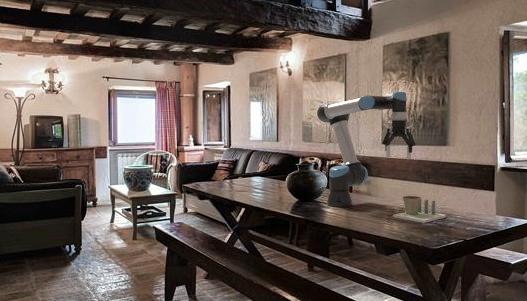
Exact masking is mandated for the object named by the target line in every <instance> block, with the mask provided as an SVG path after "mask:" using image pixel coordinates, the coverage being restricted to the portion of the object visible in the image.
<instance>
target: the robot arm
mask: <svg viewBox="0 0 527 301" xmlns="http://www.w3.org/2000/svg"><path fill="white" fill-rule="evenodd" d="M407 100H408V99H407V93H406V92H405V91H395V92H394V91H393V92H392V94H391V95H387V96H386V95H385V96H383V95H382V96H381V95H369V94H368V95H362V96H361V97H359V98H355V99H350V100H346V101H342V102H341V101H340V102H337V103H326V104H321V105H320V106H318V109H317V111H316V116H317V118H318V119H319V120H320V121H321V122H323V123H329V125H330V128H331V129H333V131H334V134H335V137H336V140H337V143H338V147H339V151H340V154H341V158H342V161H343V164H342V165H336V166H332V167H330V169H329V173H328V174H329V175H328V177H329V193H328V196H327V197H328V198H327V200H326V205H327V206H329V207H334V208H335V207H337V208H342V207H343V208H346V207H351V206H353V200H352V198H351V193H350V187H353V186H361V185H364V184H365V183H366V182H367V180H368V176H369V174H368V173H369V172H368V169H367V168H366V167H365V166H363V165H362V162H361V161H360V160H358V158H357V155H356V151H355V147H354V144H353V141H352V138H351V134H350V131H349V128H348V124H349V119H350V114H354V113H358V112H365V111H369V110H379V111H380V110H381V111H382V110H383V111H384V110H391V119H392V120H391V127H392V128H386V129H387V130H386V134H385V136H384V138H383V140H382V143H381V144H382V145H384V148H385V149H384V150H385V156H386V158H391V145H390V144H391V143H392V142H393V140H394V139H395V138H396V137H399V138H402V139H403V140H404V142H405V144H406V145H407V147H406V159H407V160H410V159H412V153H413V147H415V146H416V144H417V143H416V141H415V139H414V137H413V134H412V129H411V128H406V127H407V120H406V119H407Z"/></svg>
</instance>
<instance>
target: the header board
mask: <svg viewBox="0 0 527 301" xmlns="http://www.w3.org/2000/svg"><path fill="white" fill-rule="evenodd" d="M446 217H447V215H446V214H442V213H437V212H436V200H431V211H430V212H429V199H424V211H423V210H422V198H421V199H420V203H419V210H418V214H416V215H410V214H406V212H405V211H404V212H399V213H396V214H392V218H394V219H395V218H396V219H401V220H406V221H412V222H418V223H423V224H425V223H429V222H433V221H437V220H441V219H444V218H445V219H446Z"/></svg>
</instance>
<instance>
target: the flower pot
mask: <svg viewBox="0 0 527 301" xmlns="http://www.w3.org/2000/svg"><path fill="white" fill-rule="evenodd" d="M401 199H402V201H403V204H404V206H403V207H404V212H406V214H410V215H416V214H418V210H419V203H420V199H421V200H422V197H421V196H418V195H405V196H404V195H403V196H402V197H401Z"/></svg>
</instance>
